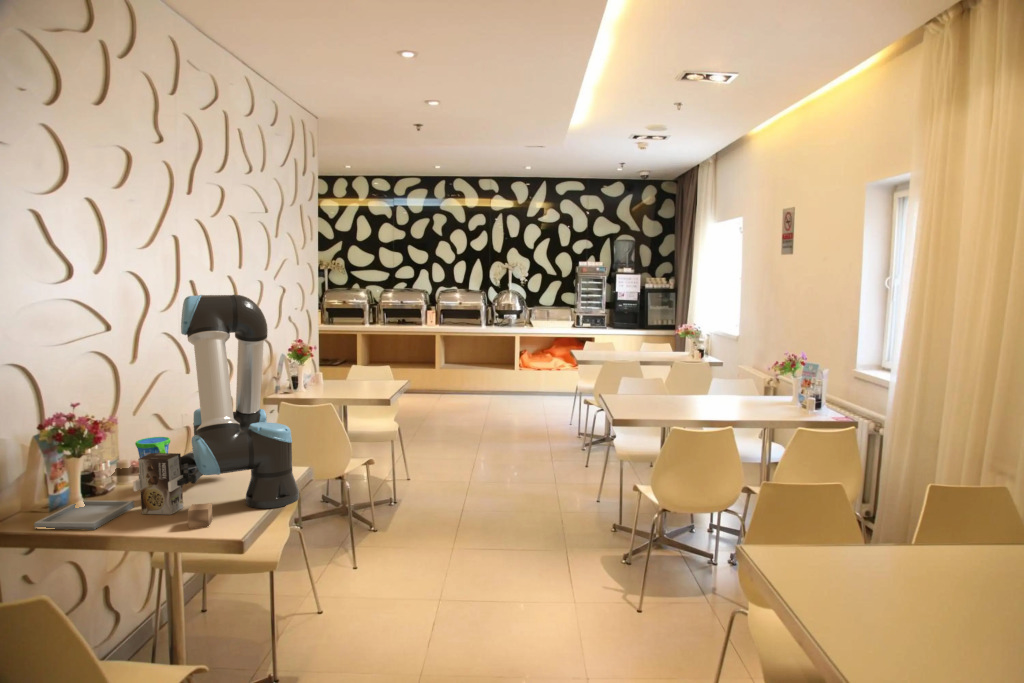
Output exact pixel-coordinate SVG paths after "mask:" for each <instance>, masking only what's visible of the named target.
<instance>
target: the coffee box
mask: <svg viewBox="0 0 1024 683" xmlns="http://www.w3.org/2000/svg"><path fill="white" fill-rule="evenodd" d="M181 457H182V455H181V453H180V452H179V453H175V452H174V453H170V452H168V453H151V454H148V455H146V456H144V457H142V458H140V457H139V458H138V470H139V471H138V472H139V473H138V476H139V475H140V490H139V491H140V504H141V514H142V515H173V514H174V513H176V512H178V511H180V510H182V509H183V508H184V498H183V497H184V496H183V485H182V486H180V487H178V488H176V489H175V490H173V491H171V492H169V491H168V482H169V481H171V480H173V479H175V478H176V477H178V476H180V475H182V474H181Z"/></svg>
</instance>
